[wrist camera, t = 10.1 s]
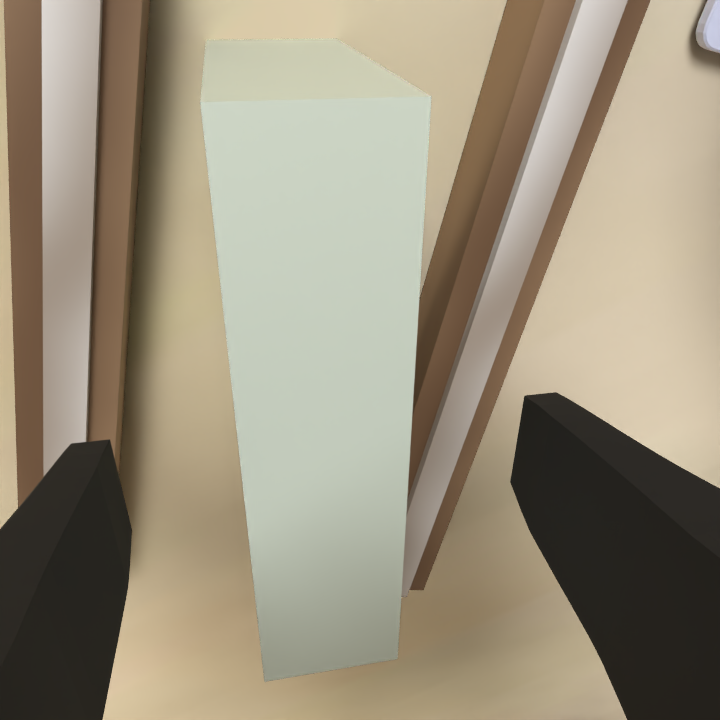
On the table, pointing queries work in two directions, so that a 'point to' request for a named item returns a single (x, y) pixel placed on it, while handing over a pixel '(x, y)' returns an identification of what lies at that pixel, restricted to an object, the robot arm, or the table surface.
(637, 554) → the robot arm
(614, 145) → the table surface
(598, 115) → the sliding track
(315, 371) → the door panel
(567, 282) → the table surface
